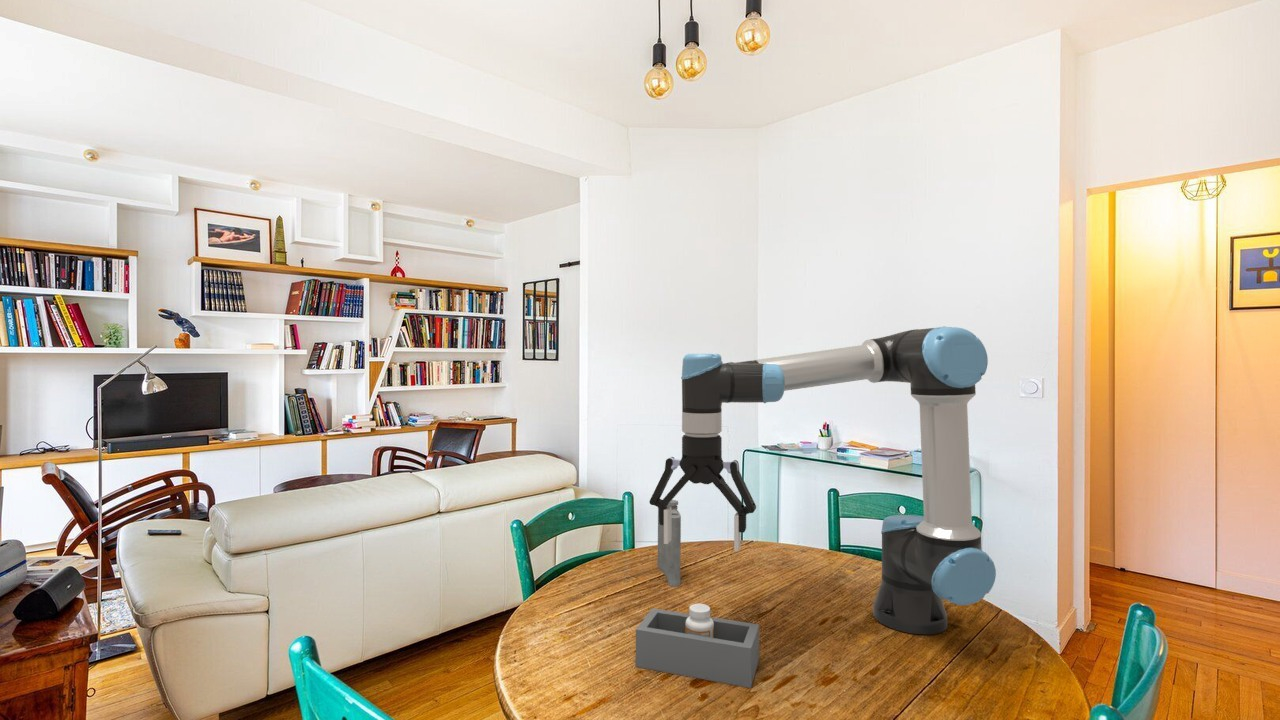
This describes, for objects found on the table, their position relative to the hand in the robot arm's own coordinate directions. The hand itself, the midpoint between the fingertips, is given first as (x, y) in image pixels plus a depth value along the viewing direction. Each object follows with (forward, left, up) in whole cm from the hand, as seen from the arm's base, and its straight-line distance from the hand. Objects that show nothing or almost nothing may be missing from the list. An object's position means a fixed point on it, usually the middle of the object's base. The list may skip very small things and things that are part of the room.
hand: (701, 545), depth 115 cm
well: (0, +1, -22) cm, 22 cm away
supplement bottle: (0, +1, -22) cm, 22 cm away
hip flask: (+18, -42, -23) cm, 51 cm away
